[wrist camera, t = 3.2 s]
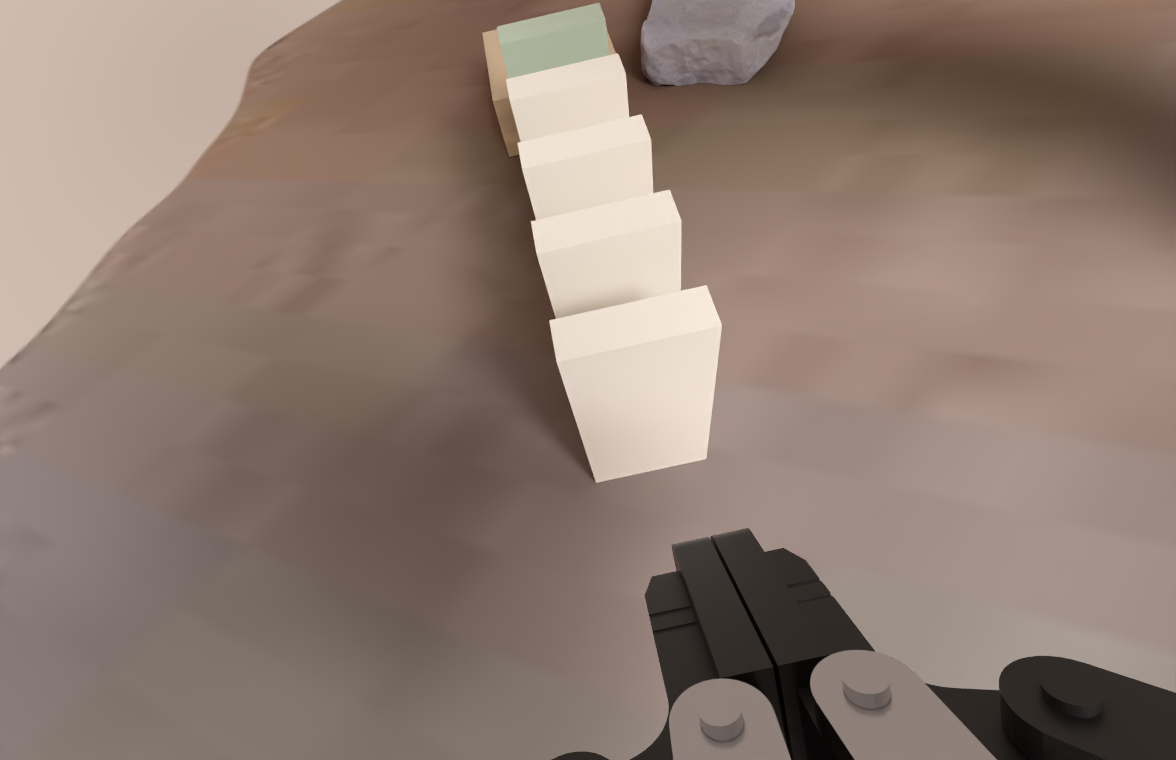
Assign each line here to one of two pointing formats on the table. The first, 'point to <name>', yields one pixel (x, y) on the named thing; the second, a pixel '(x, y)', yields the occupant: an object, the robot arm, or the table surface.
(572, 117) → the domino
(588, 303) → the domino
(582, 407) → the domino
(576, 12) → the domino
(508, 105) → the stop block
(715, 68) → the stone block
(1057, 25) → the table surface
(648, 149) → the domino
